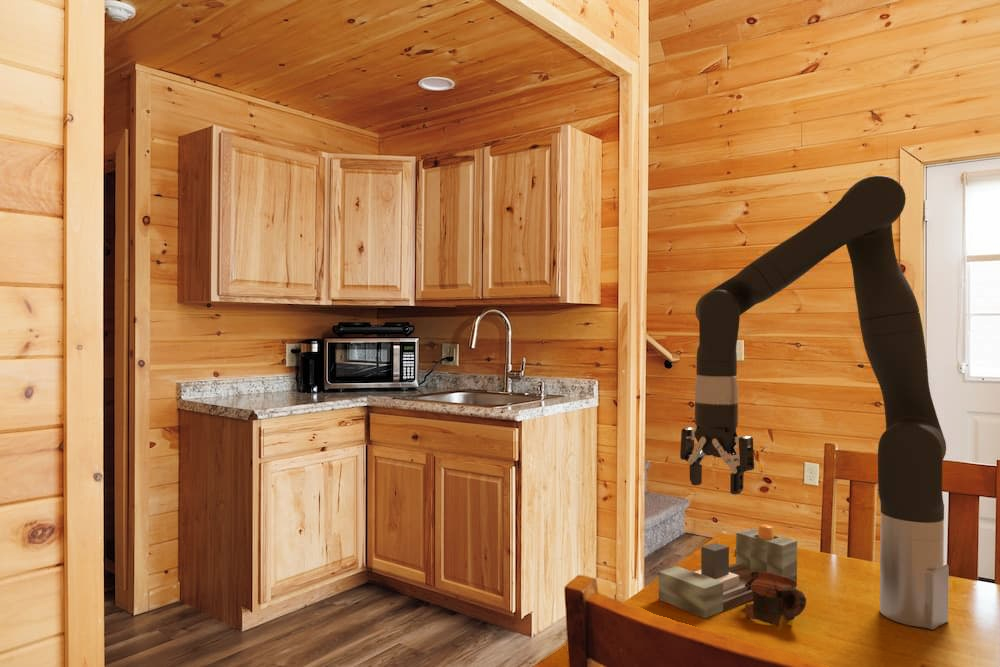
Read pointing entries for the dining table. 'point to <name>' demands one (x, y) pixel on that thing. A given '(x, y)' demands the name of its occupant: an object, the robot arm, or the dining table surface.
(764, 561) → the rail base
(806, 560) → the dining table surface
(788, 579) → the pottery mug
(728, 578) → the carriage
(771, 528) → the plunger
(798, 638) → the dining table surface
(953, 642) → the dining table surface
